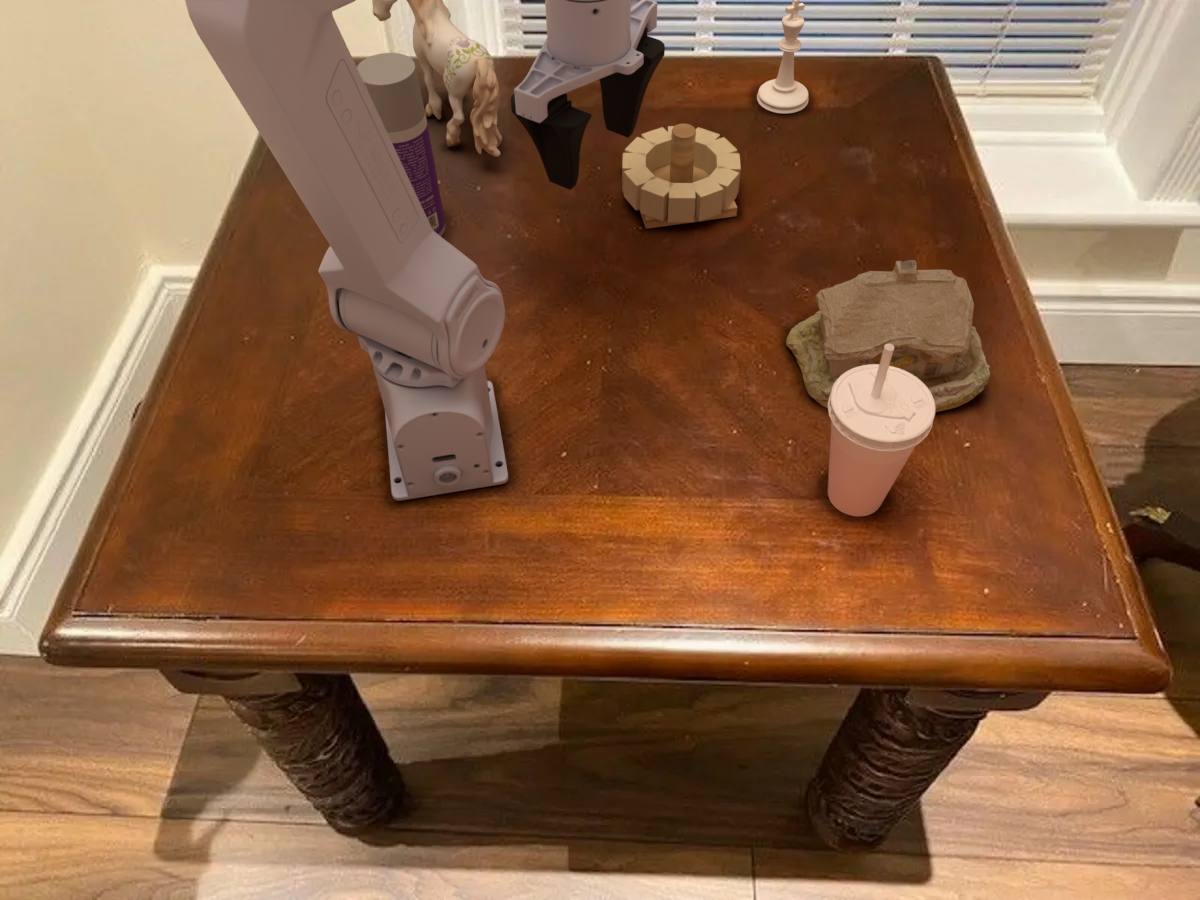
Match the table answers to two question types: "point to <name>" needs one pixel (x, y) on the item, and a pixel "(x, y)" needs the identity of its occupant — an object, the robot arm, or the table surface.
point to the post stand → (683, 171)
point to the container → (405, 125)
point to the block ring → (680, 197)
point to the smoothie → (874, 432)
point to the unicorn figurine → (453, 71)
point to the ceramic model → (895, 333)
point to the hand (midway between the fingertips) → (591, 156)
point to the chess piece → (786, 70)
